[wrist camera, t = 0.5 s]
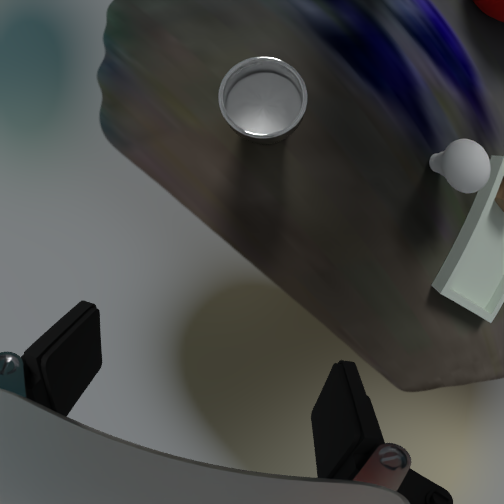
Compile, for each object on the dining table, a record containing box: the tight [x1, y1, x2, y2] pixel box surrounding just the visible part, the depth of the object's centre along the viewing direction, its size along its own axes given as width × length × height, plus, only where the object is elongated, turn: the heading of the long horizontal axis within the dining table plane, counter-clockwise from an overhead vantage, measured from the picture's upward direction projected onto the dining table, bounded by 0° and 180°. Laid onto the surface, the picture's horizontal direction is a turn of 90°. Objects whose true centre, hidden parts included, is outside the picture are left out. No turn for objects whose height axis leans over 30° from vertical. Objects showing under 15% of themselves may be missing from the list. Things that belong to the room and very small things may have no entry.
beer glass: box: [218, 56, 308, 145], centre depth 28 cm, size 7×7×15 cm
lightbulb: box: [429, 139, 491, 193], centre depth 29 cm, size 6×6×11 cm
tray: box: [431, 156, 504, 323], centre depth 36 cm, size 22×14×3 cm, turn 155°
